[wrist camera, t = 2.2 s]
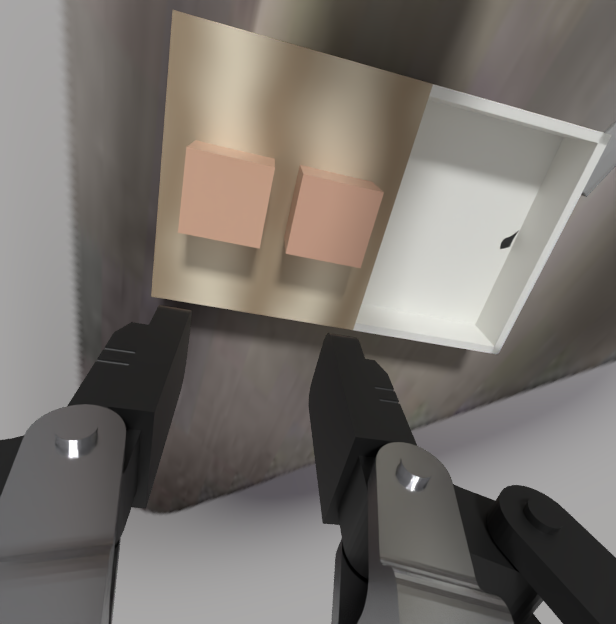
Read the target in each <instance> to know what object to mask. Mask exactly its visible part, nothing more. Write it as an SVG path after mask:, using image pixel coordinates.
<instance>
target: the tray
mask: <svg viewBox="0 0 616 624" xmlns="http://www.w3.org/2000/svg"><path fill="white" fill-rule="evenodd" d="M611 136H612V135H610V134H606V133H603V132H599V131H596V130H592V129H589V128H585V127H582V126H578V125H575V124H571V123H568V122H564V121H561V120H557V119H554V118H550V117H547V116H543V115H540V114H536V113H533V112H529V111H526V110H522V109H519V108H515V107H512V106H508V105H505V104H501V103H498V102H494V101H491V100H487V99H484V98H480V97H477V96H473V95H469V94H466V93H462V92H459V91H455V90H452V89H448V88H445V87H441V86H438V85H434V84H433V86H432V89H431V92H430V95H429V98H428V101H427V104H426V107H425V110H424V113H423V117H422V120H421V123H420V126H419V129H418V132H417V135H416V138H415V141H414V144H413V147H412V150H411V153H410V157H409V160H408V163H407V166H406V169H405V172H404V175H403V178H402V181H401V184H400V187H399V190H398V193H397V196H396V200H395V203H394V206H393V209H392V212H391V215H390V218H389V221H388V224H387V227H386V230H385V233H384V236H383V240H382V243H381V246H380V249H379V252H378V255H377V258H376V261H375V264H374V267H373V270H372V273H371V276H370V280H369V283H368V286H367V289H366V292H365V295H364V298H363V301H362V304H361V307H360V310H359V313H358V316H357V319H356V323H355V326H354V329H353V330H355V331H361V332H367V333H373V334H379V335H385V336H391V337H397V338H403V339H409V340H415V341H421V342H427V343H433V344H438V345H444V346H450V347H456V348H462V349H468V350H474V351H480V352H486V353H492V354H499V352H500V350H501V348H502V346H503V344H504V342H505V340H506V338H507V336H508V334H509V332H510V331H511V329H512V327H513V325H514V323H515V321H516V319H517V317H518V315H519V313H520V311H521V309H522V307H523V305H524V304H525V302H526V300H527V298H528V296H529V294H530V292H531V290H532V288H533V286H534V284H535V282H536V280H537V278H538V277H539V275H540V273H541V271H542V269H543V267H544V265H545V263H546V261H547V259H548V257H549V255H550V253H551V251H552V250H553V248H554V246H555V244H556V242H557V240H558V238H559V236H560V234H561V232H562V230H563V228H564V226H565V225H566V223H567V221H568V219H569V217H570V215H571V213H572V211H573V209H574V207H575V205H576V203H577V201H578V199H579V198H580V196H581V194H582V192H583V190H584V188H585V186H586V184H587V182H588V180H589V178H590V176H591V174H592V172H593V171H594V169H595V167H596V165H597V163H598V161H599V159H600V157H601V155H602V153H603V151H604V149H605V147H606V145H607V144H608V142H609V140H610V138H611ZM518 230H519V231H518ZM517 231H518V233H517V234H516V236H515V237H514V239H513V241H512V243H511V245H510V247H508V248H504V249H500V246H501V242H502V241H503V240H504V239H505V238H507V237H510V236H512V235H513V234H515V233H516V232H517Z"/></svg>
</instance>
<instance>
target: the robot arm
mask: <svg viewBox="0 0 616 624" xmlns="http://www.w3.org/2000/svg"><path fill="white" fill-rule="evenodd" d="M191 319H192V311H191V310H186V309H180V308H174V307H168V306H161V305H159V307H158V308H157V310H156V312H155V314H154V316H153V318H152V320H151V322H150V324H149V325H146V324H139V323H133V322H131V323H129V324H128V325H126V326H124V327H123V328H121V329H119V330H118V331H116V332H114V334H113V335H112V337H111V338H110V340H109V341H108V343H107V345H106V346H105V350H103V351H102V352H101V354H100V356H99V357H98V359H97V362H95V363H94V365H93V367H92V368H91V370H90V371H89V373H88V374H87V376H86V378H85V379H84V381H83V382H82V384H81V385H80V387H79V389H78V390H77V392H76V393H75V395H74V396H73V398H72V400H71V401H70V403H69V404H68V406H67V407H63V408H59V409H57V410H54V411H51V412H49V413H47V414H45V415H43V416H42V417H41V418H39V419H38V420H36V421H35V422H34V423H33V424H32V425H31V426H30V427H29V429H28V430H27V431H26V433H25V435H24V436H20V437H16V438H12V439H6V440H0V624H112V618H113V608H114V598H115V589H116V579H117V569H118V559H119V550H120V537H121V535H122V533H123V531H124V528H125V525H126V522H127V519H128V516H129V513H130V510H131V507H136V508H146V507H147V503H148V500H149V496H150V493H151V490H152V486H153V483H154V479H155V476H156V473H157V469H158V466H159V462H160V459H161V456H162V452H163V449H164V445H165V442H166V439H167V435H168V432H169V428H170V425H171V422H172V418H173V415H174V411H175V408H176V405H177V401H178V398H179V394H180V391H181V387H182V383H183V378H184V373H185V367H186V359H187V351H188V343H189V335H190V327H191ZM393 389H394V388H393V386H392V383H391V381H390V379H389V376H388V374H387V373H386V372H385V371H384V370H383V369H382V368H381V367H380V365H379V364H378V363H377V362H376V361H375V360H369V359H365V357H364V354H363V352H362V349H361V346H360V343H359V340H358V339H357V338H354V337H348V336H342V335H336V334H330V333H328V334H327V335H326V337H325V339H324V342H323V345H322V349H321V352H320V356H319V359H318V362H317V366H316V369H315V373H314V376H313V379H312V383H311V387H310V393H309V413H310V422H311V430H312V438H313V446H314V455H315V463H316V470H317V479H318V488H319V496H320V503H321V512H322V520H323V523H324V524H336V525H340V528H341V535H342V539H341V542H340V544H339V547H338V549H337V552H336V559H335V575H334V592H333V607H332V623H331V624H541V623H540V622H539V620H538V619H537V618H536V617H535V615H534V614H533V612H534V611H535V610H536V609H537V608H538V606H539V605H540V604H541V603H542V602H543V600H544V602H545V603H546V604H547V605H548V606H549V608H550V609H551V610H552V611H553V612H554V613H555V615H557V617H558V618H559V619H560V620H561V622H562V623H563V624H616V558H615V557H614V556H613V555H612V554H611V553H610V552H609V551H608V550H607V549H606V548H605V547H604V546H603V545H602V544H601V543H599V542H598V541H597V540H596V539H595V538H594V537H593V536H592V535H591V534H590V533H589V532H588V531H587V530H586V529H585V528H584V527H582V526H581V525H580V524H579V523H578V522H577V521H576V520H575V519H574V518H573V517H572V516H571V515H570V514H569V513H568V512H567V511H566V510H565V509H563V508H562V507H561V506H560V505H559V504H558V503H556V502H555V501H553V500H552V499H551V498H549V497H548V496H546V495H545V494H543V493H540V492H539V491H537V490H534V489H532V488H529V487H525V486H519V485H512V486H508V487H506V488H504V489H503V490H502V492H501V493H500V495H499V496H498V498H497V499H496V501H494V500H492V499H489V498H487V497H484V496H481V495H479V494H476V493H473V492H471V491H468V490H465V489H463V488H460V487H458V486H456V485H454V484H453V483H452V480H451V477H450V475H449V473H448V471H447V469H446V468H445V467H444V465H443V464H442V463H441V462H440V461H439V460H438V459H437V458H436V457H435V456H433V455H432V454H431V453H429V452H427V451H426V450H424V449H422V448H420V447H418V446H417V444H416V442H415V439H414V437H413V435H412V432H411V430H410V427H409V425H408V422H407V420H406V417H405V415H404V413H403V410H402V408H401V405H400V404H398V402H399V400H398V398H397V396H396V393H395V392H394V391H393Z"/></svg>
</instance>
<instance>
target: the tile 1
mask: <svg viewBox="0 0 616 624" xmlns="http://www.w3.org/2000/svg"><path fill="white" fill-rule="evenodd" d="M274 171H275V159H273V158H269V157H265V156H261V155H256V154H252V153H248V152H244V151H239V150H235V149H231V148H227V147H222V146H218V145H214V144H209V143H205V142H201V141H197V140H195V141H194V142H193V143H191V144H190V145H188V146H187V147H186V156H185V166H184V176H183V186H182V197H181V207H180V217H179V227H178V233H182V234H187V235H192V236H197V237H203V238H208V239H213V240H218V241H223V242H228V243H233V244H238V245H244V246H249V247H254V248H259V249H260V244H261V239H262V234H263V229H264V223H265V218H266V213H267V208H268V202H269V197H270V192H271V187H272V182H273V176H274Z"/></svg>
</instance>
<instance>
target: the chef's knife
mask: <svg viewBox="0 0 616 624" xmlns="http://www.w3.org/2000/svg"><path fill="white" fill-rule="evenodd" d="M604 133H606V134H610V135H612V136H611V138H610V140H609V142H608V144H607V145H606V147H605V149H604V151H603V153H602V155H601V157H600V159H599V161H598V163H597V165H596V167H595V169H594V171H593V172H592V174H591V176H590V178H589V180H588V182H587V184H586V186H585V188H584V190H583V192H582V194H583V195H584V196H586V197H587V196H588V195H589V194H590V193H591V192H592V191H593V189H594V188H595V187H596V186H597V185H598V184H599V183H600V182H601V181H602V180H603V179H604V178H605V177H606V176H607V175H608V173H609V172H610V171H611V170H612V169H613V168H614V167H615V166H616V121H615V122H614V123H613V124H612V125H611V126H610V127H609V128H608V129H607V130H606V131H605V132H604ZM518 231H519V230H518ZM518 231H517V232H516V233H515V234H513V235H512V236H510V237H507V238H505V239H504V240H503V241H502V242H501V246H500V249H504V248H508V247H510V245H511V243H512V241H513V239H514V237H515V236H516V234H517V233H518Z"/></svg>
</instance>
